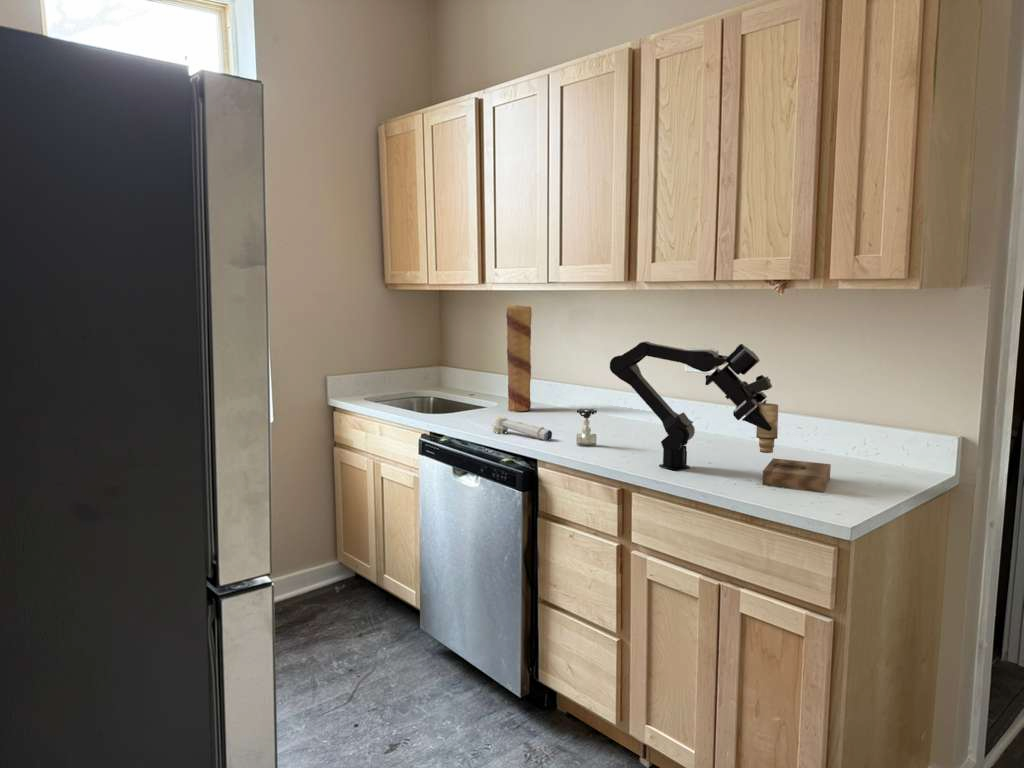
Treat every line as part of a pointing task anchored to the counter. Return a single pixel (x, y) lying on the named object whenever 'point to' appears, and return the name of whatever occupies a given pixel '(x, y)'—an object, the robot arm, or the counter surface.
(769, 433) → the dowel
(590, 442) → the valve
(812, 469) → the seat block
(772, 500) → the counter surface
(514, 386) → the wafer roll
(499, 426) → the off-white plastic cylinder
